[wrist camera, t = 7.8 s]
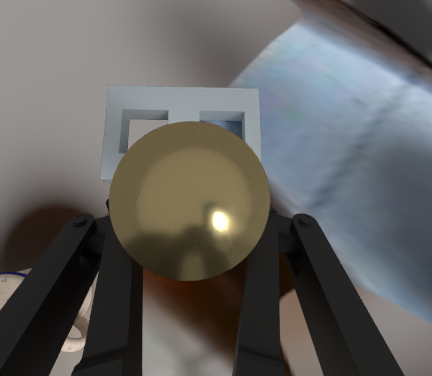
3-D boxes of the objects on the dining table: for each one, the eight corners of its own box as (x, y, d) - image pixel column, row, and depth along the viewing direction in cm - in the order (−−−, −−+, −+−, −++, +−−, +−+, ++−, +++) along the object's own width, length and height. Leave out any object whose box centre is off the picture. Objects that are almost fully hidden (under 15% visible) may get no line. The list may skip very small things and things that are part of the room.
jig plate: (254, 100, 35) (258, 88, 32) (257, 184, 33) (262, 180, 30) (117, 97, 35) (108, 85, 32) (109, 183, 32) (99, 179, 29)
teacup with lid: (12, 308, 29) (-117, 362, 18) (53, 247, 31) (-40, 260, 19) (87, 355, 28) (5, 444, 17) (126, 290, 30) (74, 331, 18)
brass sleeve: (234, 180, 21) (267, 122, 9) (235, 247, 20) (273, 280, 8) (169, 180, 21) (115, 120, 9) (166, 247, 20) (101, 281, 8)
